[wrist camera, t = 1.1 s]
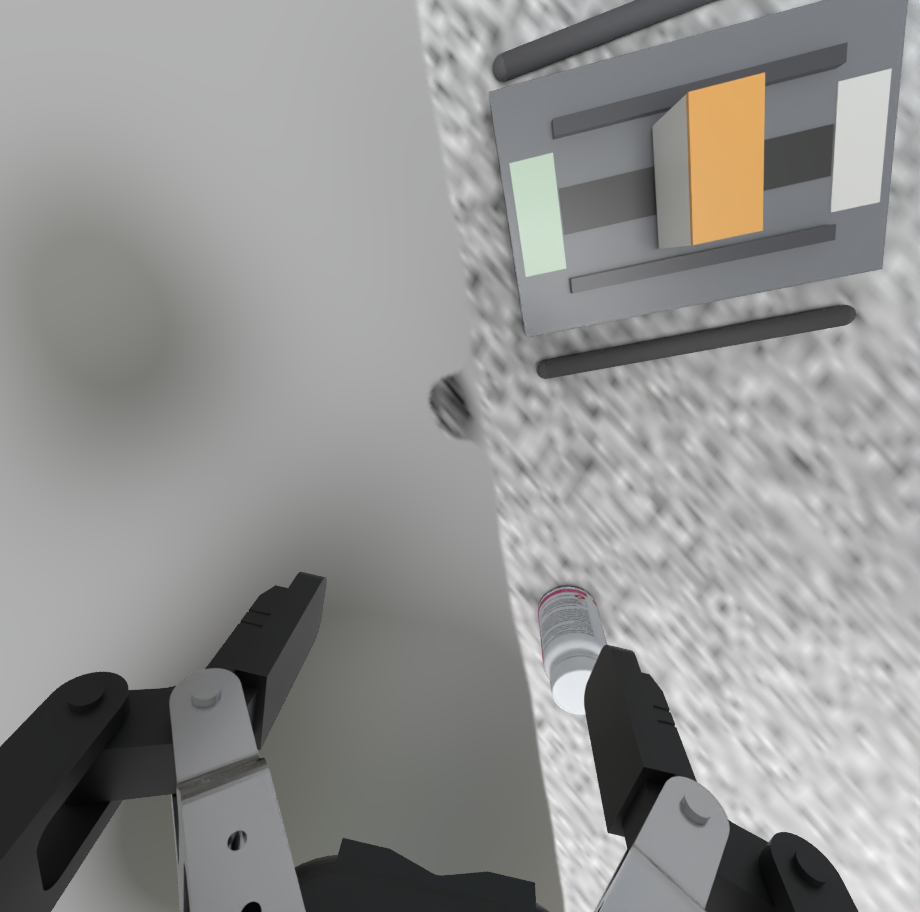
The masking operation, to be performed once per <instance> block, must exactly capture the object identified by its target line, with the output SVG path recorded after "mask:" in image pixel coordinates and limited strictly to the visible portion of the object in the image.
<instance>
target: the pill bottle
mask: <svg viewBox="0 0 920 912" xmlns="http://www.w3.org/2000/svg"><path fill="white" fill-rule="evenodd" d="M538 617H539V625H540V636H541V647H542V658H543V666H544V671H545V673H546V675H547V677H548V679H549V680H550V685H551V690H552V696H553V699H554V701H555V702H556V704H557V705H558V706H559V707H560V708H562V709H563V710H565V711H567V712H570V713H573V714H579V715H586V714H585V708H584V693H585V688H586V684H587V681H588V679H589V677H590V674H591V672H592V670H593V668H594V665H595V663H596V661H597V658H598V656H599V654H600V651H601V649H602V648H603V646H604V645H607V642H606V638H605V635H604V631H603V628H602V624H601V620H600V616H599V612H598V609H597V606H596V603H595V601H594V600H593V598H592V597H591V596H590V595H589V594H588V593H587V592H585V591H583V590H581V589H579V588H575V587H561V588H557V589H554V590H552V591H550V592H549V593H547V594H546V595H545V596H544V597H543V598H542V600H541V602H540V604H539V608H538Z"/></svg>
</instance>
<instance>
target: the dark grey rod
mask: <svg viewBox="0 0 920 912" xmlns="http://www.w3.org/2000/svg"><path fill="white" fill-rule="evenodd" d="M855 316H856V312H855V310H854V308H853V307H851V306H848V305H842V306H837V307H832V308H826V309H821V310H815V311H810V312H805V313H799V314H794V315H788V316H783V317H777V318H772V319H767V320H761V321H756V322H750V323H745V324H740V325H734V326H729V327H723V328H718V329H713V330H707V331H702V332H696V333H691V334H685V335H680V336H675V337H669V338H664V339H658V340H653V341H648V342H642V343H637V344H631V345H626V346H621V347H615V348H610V349H604V350H599V351H593V352H588V353H583V354H577V355H572V356H566V357H561V358H556V359H550V360H545V361H542V362H540V363H539V365H538V367H537V373H538V375H539V376H540V377H541V378H544V379H548V378H553V377H559V376H565V375H570V374H576V373H581V372H587V371H592V370H598V369H604V368H609V367H615V366H620V365H626V364H632V363H637V362H643V361H648V360H654V359H659V358H665V357H671V356H676V355H682V354H687V353H693V352H699V351H704V350H710V349H715V348H721V347H726V346H732V345H738V344H743V343H749V342H754V341H760V340H766V339H771V338H777V337H782V336H788V335H793V334H799V333H805V332H810V331H816V330H821V329H827V328H833V327H838V326H844V325H847V324H849V323H851V322H852V321H853V320H854V318H855Z"/></svg>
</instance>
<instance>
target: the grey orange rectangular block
mask: <svg viewBox="0 0 920 912" xmlns="http://www.w3.org/2000/svg"><path fill="white" fill-rule="evenodd" d="M764 120H765V72H764V73H761V74H757V75H753V76H749V77H745V78H741V79H737V80H733V81H729V82H725V83H722V84H718V85H714V86H710V87H706V88H702V89H698V90H694V91H690V92H688V93H687V94H686V95H685V96H684V97H683V98H682V99H681V100H679V101H678V102H677V103H676V104H675V105H674V106H673V107H672V108H671V109H670V110H669V111H668V112H667V113H666V114H665V115H664V116H663V117H662V118H660V119H659V120H658V121H657V122H656V123H655V124H654V125H653V126H652V132H653V150H654V169H655V187H656V206H657V224H658V243H659V249H664V248H673V247H682V246H690V245H696V244H701V243H706V242H711V241H715V240H720V239H725V238H729V237H734V236H739V235H744V234H748V233H753V232H758V231H763V187H764Z"/></svg>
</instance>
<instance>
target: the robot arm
mask: <svg viewBox="0 0 920 912" xmlns="http://www.w3.org/2000/svg"><path fill="white" fill-rule="evenodd" d="M325 590H326V578H325V577H321V576H317V575H313V574H308V573H304V572H299V573H298V574H297V576H296V577H295V579H294V580H293V582H292V583H291V585H290V586H289V588H284V587H280V586H276V585H275V586H274V587H272V588H271V589H269V590H268V591H266V592H264V593H263V594H261V595H260V596H259V597H258V599H257V600H256V601H255V602H254V604H253V605H252V607H251V608H250V609H249V612H247V613H246V615H245V616H244V617H243V619H242V620H241V622H240V624H238V625H237V627H236V628H235V629H234V631H233V632H232V634H231V635H230V636H229V638H228V639H227V640H226V642H225V643H224V644H223V646H222V647H221V649H220V650H219V651H218V653H217V654H216V655H215V657H214V658H213V659H212V661H211V662H210V663H209V665H208V666H207V667H206V668H205V669H204V670H200V671H197V672H195V673H192V674H190V675H189V676H187V677H185V678H184V679H183V680H181V681H180V682H179V683H178V684H177V686H173V687H169V688H161V689H144V690H128V685H127V682H126V681H125V679H124V678H122V677H121V676H119V675H117V674H115V673H111V672H95V673H89V674H85V675H82V676H79V677H76V678H74V679H72V680H70V681H68V682H66V683H64V684H63V685H61V686H60V687H59V688H57V689H56V690H55V691H54V692H53V693H52V694H51V695H50V696H49V697H48V698H47V699H46V700H45V701H44V702H43V703H42V704H41V705H40V706H39V707H38V708H37V709H36V710H35V711H34V712H33V714H31V716H30V717H29V718H28V719H27V720H26V721H25V722H24V723H23V724H22V725H21V726H20V727H19V728H18V729H17V730H16V731H15V732H14V733H13V734H12V735H11V736H10V737H9V738H8V739H7V740H6V741H5V742H4V743H3V745H2V746H1V747H0V912H51V911H52V909H53V908H54V906H55V904H56V903H57V901H58V900H59V898H60V897H61V895H62V894H63V892H64V891H65V889H66V887H67V886H68V884H69V883H70V881H71V880H72V878H73V877H74V875H75V874H76V872H77V870H78V869H79V867H80V866H81V864H82V863H83V861H84V859H85V858H86V856H87V855H88V853H89V852H90V850H91V848H92V847H93V845H94V844H95V842H96V841H97V839H98V838H99V836H100V835H101V833H102V832H103V830H104V828H105V827H106V825H107V824H108V822H109V821H110V819H111V818H112V816H113V815H114V813H115V811H116V810H117V808H118V807H119V805H120V804H121V802H122V800H125V799H134V798H142V797H150V796H159V795H168V794H171V802H172V813H173V824H174V835H175V847H176V858H177V870H178V884H179V903H180V912H549V911H548V910H547V909H545V908H544V907H542V906H541V905H539V904H538V903H536V896H535V883H534V882H530V881H525V880H521V879H517V878H513V877H508V876H504V875H500V874H495V873H491V872H479V873H467V874H456V875H444V876H439V875H435V874H433V873H431V872H429V871H427V870H426V869H424V868H422V867H421V866H419V865H417V864H415V863H413V862H412V861H410V860H408V859H407V858H405V857H403V856H401V855H400V854H398V853H396V852H394V851H393V850H391V849H388V848H383V847H379V846H375V845H371V844H366V843H362V842H358V841H354V840H349V839H345V838H343V839H342V843H341V846H340V850H339V853H338V855H332V856H326V857H321V858H317V859H314V860H311V861H308V862H306V863H303V864H301V865H299V866H297V867H295V868H294V864H293V860H292V856H291V852H290V849H289V844H288V841H287V837H286V833H285V829H284V825H283V821H282V817H281V813H280V809H279V805H278V802H277V798H276V794H275V790H274V786H273V782H272V778H271V775H270V771H269V767H268V764H267V762H266V760H265V759H264V758H261V759H260V757H259V754H258V751H257V749H258V750H261V748H262V746H263V744H264V742H265V740H266V738H267V736H268V734H269V732H270V730H271V727H272V726H273V724H274V722H275V720H276V718H277V716H278V714H279V712H280V710H281V708H282V706H283V704H284V702H285V700H286V697H287V696H288V694H289V692H290V690H291V688H292V686H293V684H294V682H295V680H296V678H297V676H298V674H299V672H300V670H301V668H302V666H303V664H304V662H305V660H306V658H307V656H308V654H309V652H310V650H311V648H312V646H313V644H314V642H315V639H316V637H317V634H318V631H319V627H320V623H321V618H322V611H323V604H324V597H325ZM584 708H585V714H586V719H587V724H588V730H589V735H590V740H591V746H592V751H593V756H594V762H595V767H596V773H597V778H598V783H599V789H600V794H601V799H602V805H603V810H604V815H605V821H606V826H607V831H608V833H611V834H615V835H619V836H623V837H625V840H626V845H627V850H626V852H625V854H624V855H623V857H622V859H621V861H620V863H619V865H618V867H617V869H616V871H615V872H614V874H613V876H612V878H611V880H610V882H609V884H608V886H607V888H606V890H605V891H604V893H603V895H602V897H601V899H600V901H599V903H598V905H597V907H596V909H595V911H594V912H858V910H857V908H856V906H855V904H854V902H853V900H852V898H851V896H850V894H849V892H848V890H847V888H846V886H845V884H844V882H843V880H842V879H841V877H840V875H839V873H838V872H837V870H836V869H835V868H834V866H833V865H832V864H831V863H830V861H829V860H828V859H827V858H826V857H825V856H824V855H823V854H822V853H821V852H820V851H819V850H818V849H817V848H816V847H814V846H813V845H812V844H811V843H809V842H808V841H806V840H805V839H803V838H801V837H799V836H797V835H794V834H792V833H787V832H780V833H777V834H775V835H774V836H773V837H772V839H771V840H770V841H769V842H767V841H765V840H763V839H761V838H759V837H758V836H756V835H754V834H752V833H750V832H748V831H747V830H745V829H743V828H741V827H739V826H737V825H736V824H734V823H732V822H731V821H729V820H728V818H727V815H726V813H725V811H724V809H723V807H722V806H721V804H720V803H719V802H718V800H717V799H716V798H715V797H714V796H713V795H712V794H711V793H710V792H709V791H708V790H707V789H706V788H705V787H703V786H702V785H701V784H699V783H697V781H696V778H695V776H694V773H693V770H692V768H691V765H690V763H689V760H688V757H687V755H686V752H685V749H684V747H683V744H682V741H681V739H680V736H679V733H678V731H677V728H676V727H675V723H674V720H673V718H672V715H671V713H670V712H669V707H668V704H667V702H666V699H665V696H664V694H663V691H662V690H661V689H660V687H659V686H658V685H657V683H656V682H655V681H654V680H653V678H652V677H651V676H650V674H646V673H641V670H640V667H639V664H638V661H637V659H636V656H635V654H634V652H633V651H631V650H627V649H623V648H619V647H614V646H610V645H604V646H603V648H602V649H601V651H600V654H599V656H598V658H597V661H596V663H595V665H594V668H593V670H592V672H591V674H590V677H589V679H588V681H587V684H586V688H585V693H584Z"/></svg>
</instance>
